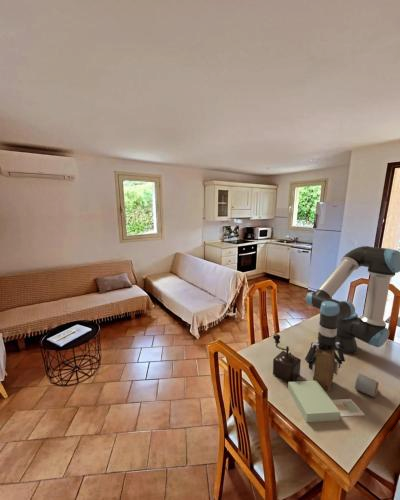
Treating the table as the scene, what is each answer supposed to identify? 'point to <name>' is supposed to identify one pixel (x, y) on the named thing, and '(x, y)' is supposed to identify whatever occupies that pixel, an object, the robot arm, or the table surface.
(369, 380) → the grey cylinder
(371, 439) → the table surface
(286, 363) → the dark brown coffee grinder
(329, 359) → the block
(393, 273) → the robot arm
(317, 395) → the baseplate
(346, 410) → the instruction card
